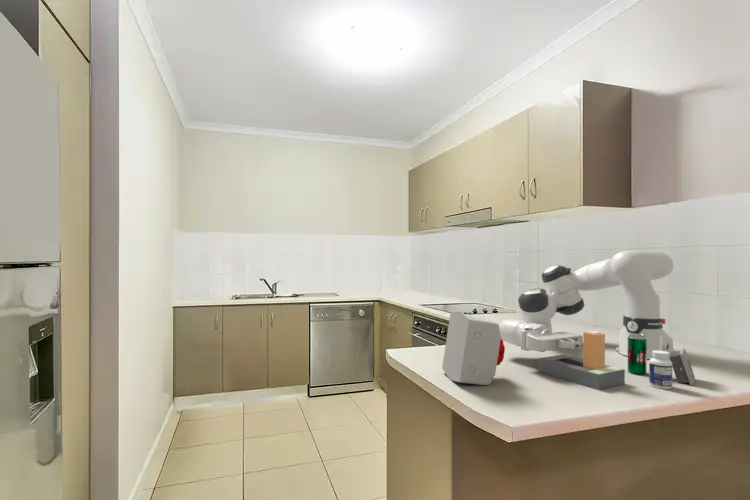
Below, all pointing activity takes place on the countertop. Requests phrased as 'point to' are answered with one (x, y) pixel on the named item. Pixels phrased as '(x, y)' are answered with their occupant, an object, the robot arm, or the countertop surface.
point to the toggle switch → (581, 372)
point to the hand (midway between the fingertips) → (577, 346)
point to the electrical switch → (682, 367)
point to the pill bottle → (660, 370)
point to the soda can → (637, 354)
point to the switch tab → (593, 350)
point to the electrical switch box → (472, 349)
